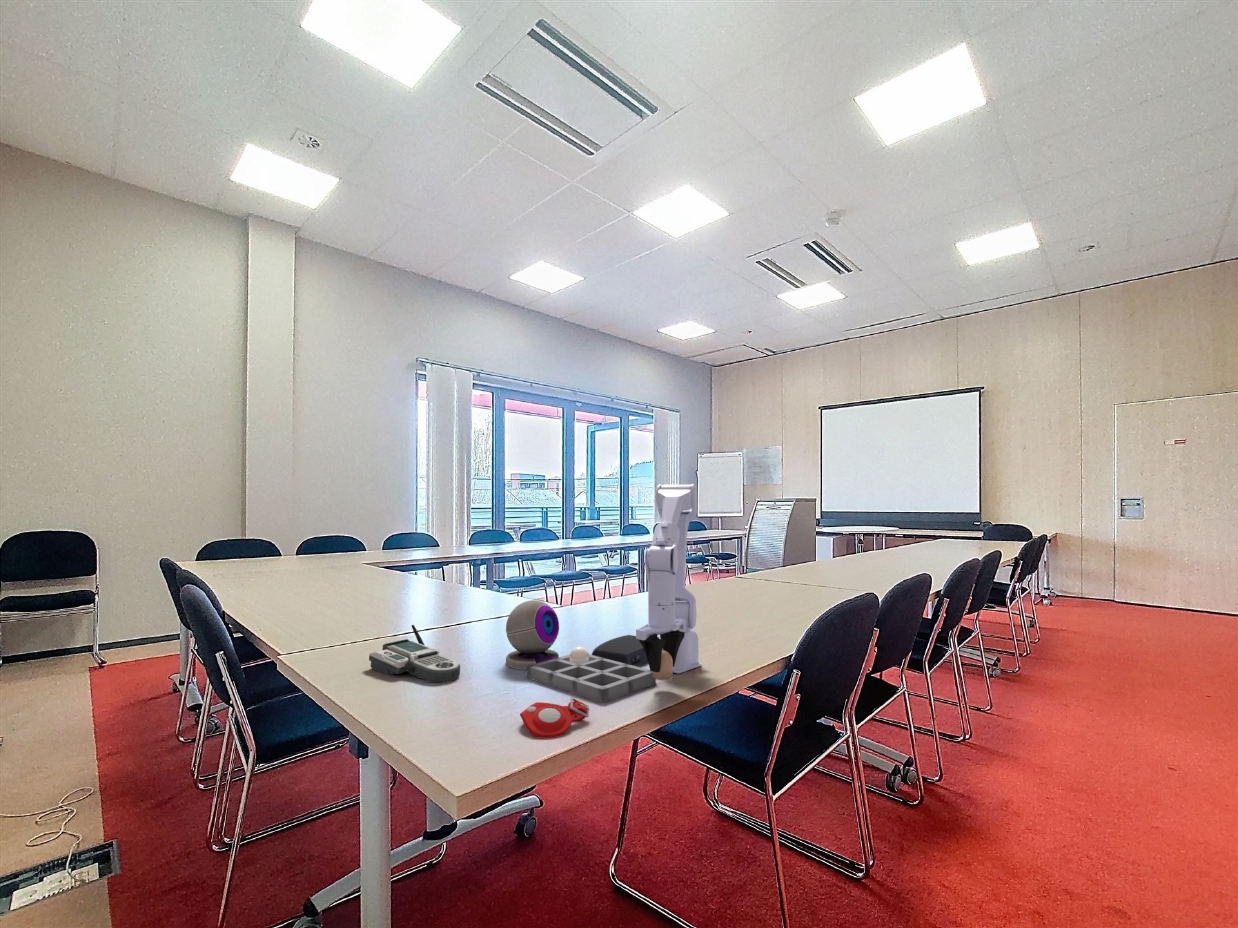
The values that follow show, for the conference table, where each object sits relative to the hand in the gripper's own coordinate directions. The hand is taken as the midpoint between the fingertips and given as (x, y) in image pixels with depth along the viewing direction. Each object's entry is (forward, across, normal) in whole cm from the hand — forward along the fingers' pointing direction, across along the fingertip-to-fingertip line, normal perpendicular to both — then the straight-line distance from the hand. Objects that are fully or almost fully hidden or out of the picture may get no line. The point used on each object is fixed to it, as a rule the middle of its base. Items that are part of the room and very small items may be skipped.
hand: (662, 668), depth 122 cm
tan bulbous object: (+2, 0, 0) cm, 2 cm away
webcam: (+5, -5, +37) cm, 38 cm away
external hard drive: (+5, +14, +22) cm, 27 cm away
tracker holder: (+5, -28, +2) cm, 28 cm away
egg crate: (+4, -6, +16) cm, 18 cm away
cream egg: (+5, -2, +24) cm, 24 cm away
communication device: (+5, -28, +50) cm, 57 cm away
